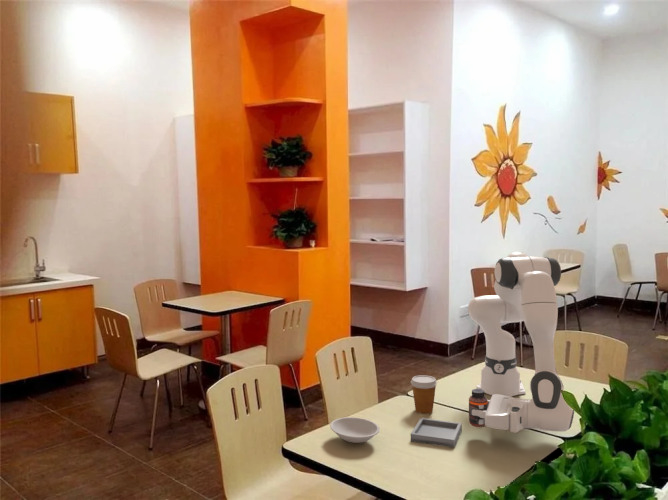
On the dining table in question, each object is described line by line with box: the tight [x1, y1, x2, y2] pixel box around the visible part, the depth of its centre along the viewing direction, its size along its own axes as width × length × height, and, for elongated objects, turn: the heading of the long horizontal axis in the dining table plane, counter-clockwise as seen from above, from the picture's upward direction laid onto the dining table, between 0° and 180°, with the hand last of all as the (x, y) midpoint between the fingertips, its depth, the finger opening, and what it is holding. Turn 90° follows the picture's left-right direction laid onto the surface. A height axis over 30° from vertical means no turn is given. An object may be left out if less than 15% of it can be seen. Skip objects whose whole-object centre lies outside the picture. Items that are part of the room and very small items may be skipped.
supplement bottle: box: [468, 388, 489, 428], centre depth 185 cm, size 6×6×11 cm
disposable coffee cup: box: [410, 374, 438, 415], centre depth 209 cm, size 10×10×12 cm
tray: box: [410, 417, 463, 448], centre depth 187 cm, size 14×14×2 cm
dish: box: [329, 416, 380, 444], centre depth 184 cm, size 18×14×5 cm
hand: (473, 407), depth 185 cm, fingers closed on supplement bottle, 6 cm apart
